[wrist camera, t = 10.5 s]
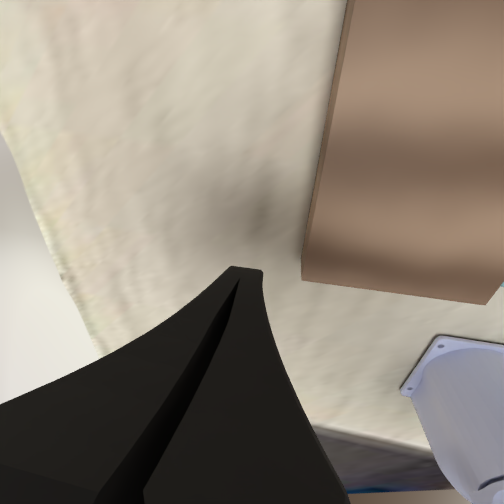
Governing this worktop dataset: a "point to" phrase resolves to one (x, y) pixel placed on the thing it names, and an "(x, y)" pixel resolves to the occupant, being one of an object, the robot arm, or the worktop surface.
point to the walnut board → (413, 153)
